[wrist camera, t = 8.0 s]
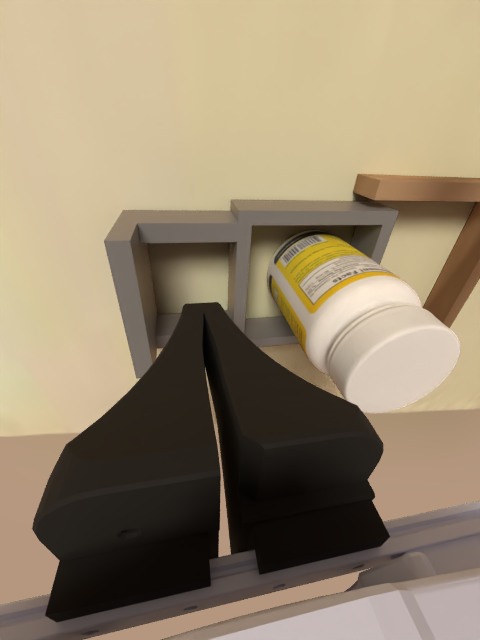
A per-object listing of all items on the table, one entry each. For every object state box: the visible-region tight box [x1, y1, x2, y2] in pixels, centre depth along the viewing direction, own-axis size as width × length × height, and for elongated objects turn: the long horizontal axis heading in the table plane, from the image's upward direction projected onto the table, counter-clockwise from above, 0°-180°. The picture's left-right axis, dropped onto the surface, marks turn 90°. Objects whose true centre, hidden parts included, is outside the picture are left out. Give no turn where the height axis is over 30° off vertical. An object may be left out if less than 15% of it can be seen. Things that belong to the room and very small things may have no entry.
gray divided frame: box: [104, 200, 399, 378], centre depth 13 cm, size 12×7×4 cm, turn 87°
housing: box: [354, 174, 480, 328], centre depth 16 cm, size 8×10×2 cm
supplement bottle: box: [267, 230, 460, 413], centre depth 12 cm, size 5×5×8 cm
